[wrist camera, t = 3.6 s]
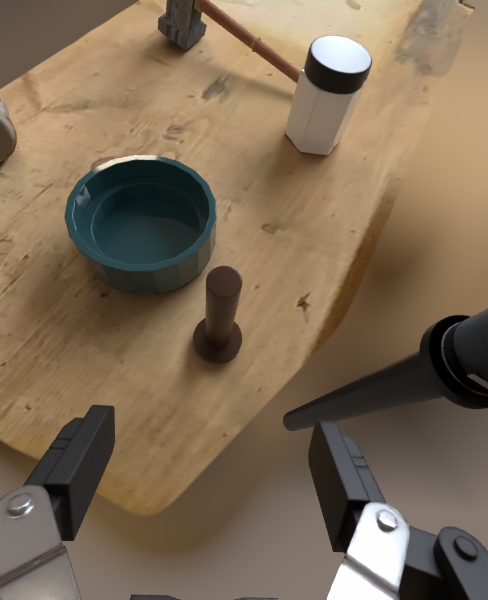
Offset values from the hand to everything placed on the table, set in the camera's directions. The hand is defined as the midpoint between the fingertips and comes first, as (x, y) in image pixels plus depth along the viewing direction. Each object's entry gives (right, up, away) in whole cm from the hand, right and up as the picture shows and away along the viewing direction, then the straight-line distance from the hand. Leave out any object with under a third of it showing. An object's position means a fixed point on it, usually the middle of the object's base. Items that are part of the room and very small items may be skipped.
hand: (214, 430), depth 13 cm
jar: (+12, +31, +39) cm, 51 cm away
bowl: (-10, +13, +28) cm, 32 cm away
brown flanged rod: (-2, +1, +23) cm, 23 cm away
